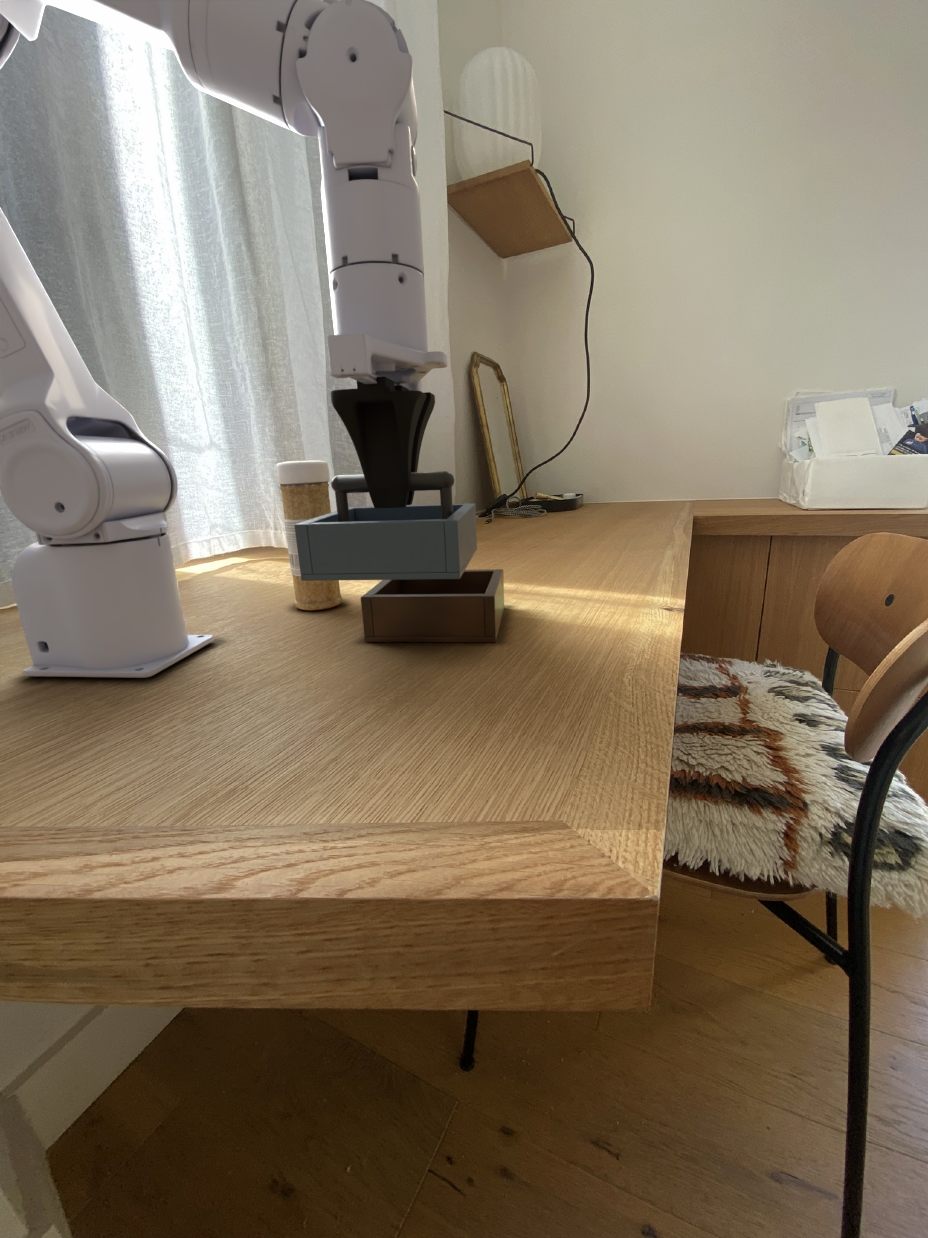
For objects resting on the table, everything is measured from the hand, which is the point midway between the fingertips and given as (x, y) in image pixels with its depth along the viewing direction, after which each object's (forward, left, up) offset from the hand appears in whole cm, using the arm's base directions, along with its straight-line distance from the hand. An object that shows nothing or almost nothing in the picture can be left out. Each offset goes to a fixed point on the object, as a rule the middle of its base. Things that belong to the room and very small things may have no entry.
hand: (393, 506), depth 37 cm
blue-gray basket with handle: (0, 0, -4) cm, 4 cm away
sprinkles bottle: (-11, +13, -10) cm, 20 cm away
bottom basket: (+2, +7, -10) cm, 12 cm away
